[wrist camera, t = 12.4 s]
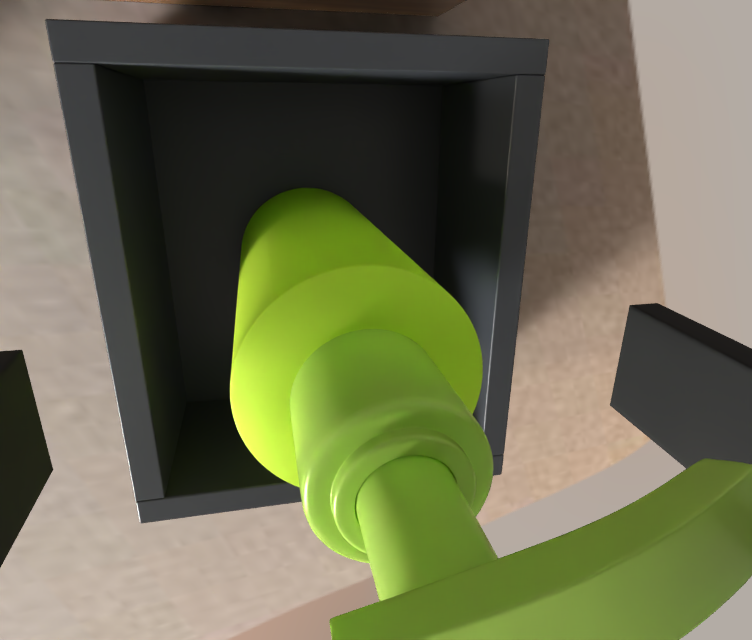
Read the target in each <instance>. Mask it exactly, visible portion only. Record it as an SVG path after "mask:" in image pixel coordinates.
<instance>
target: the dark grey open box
mask: <svg viewBox="0 0 752 640" xmlns="http://www.w3.org/2000/svg"><path fill="white" fill-rule="evenodd" d="M45 23H46V28H47V33H48V39H49V44H50V49H51V55H52V60H53V62H55V63H54V64H53V65H54V71H55V76H56V81H57V87H58V92H59V97H60V103H61V108H62V113H63V119H64V124H65V129H66V134H67V140H68V145H69V150H70V156H71V161H72V166H73V172H74V177H75V182H76V188H77V193H78V198H79V204H80V209H81V214H82V220H83V225H84V230H85V236H86V241H87V246H88V252H89V257H90V262H91V268H92V273H93V278H94V283H95V289H96V294H97V299H98V305H99V310H100V315H101V321H102V326H103V331H104V337H105V342H106V347H107V353H108V358H109V363H110V369H111V374H112V379H113V385H114V390H115V395H116V401H117V406H118V411H119V416H120V422H121V427H122V432H123V438H124V443H125V448H126V454H127V459H128V464H129V470H130V475H131V480H132V486H133V491H134V496H135V501H136V505H137V511H138V516H139V521H140V523H148V522H155V521H162V520H170V519H177V518H185V517H192V516H199V515H207V514H214V513H221V512H229V511H236V510H243V509H251V508H258V507H265V506H273V505H280V504H288V503H295V502H302V500H301V494H300V487H297V486H295V485H292V484H290V483H288V482H286V481H284V480H282V479H281V478H279V477H277V476H276V475H274V474H273V473H272V472H270V471H269V470H268V469H266V468H265V467H264V466H263V465H262V464H261V463H260V462H259V461H258V460H257V459H256V458H255V457H254V456H253V454H252V453H251V452H250V451H249V449H248V448H247V446H246V445H245V443H244V441H243V440H242V438H241V436H240V434H239V432H238V429H237V427H236V424H235V421H234V418H233V414H232V409H231V402H230V378H231V366H232V354H233V342H234V330H235V318H236V306H237V294H238V282H239V269H240V257H241V246H242V239H243V235H244V232H245V229H246V227H247V225H248V223H249V221H250V219H251V218H252V216H253V215H254V213H255V212H256V211H257V210H258V209H259V208H260V207H261V206H262V205H263V204H264V203H265V202H267V201H268V200H269V199H271V198H272V197H274V196H276V195H278V194H280V193H282V192H285V191H288V190H292V189H298V188H316V189H322V190H326V191H329V192H332V193H334V194H336V195H338V196H340V197H342V198H343V199H345V200H346V201H347V202H349V203H350V204H351V205H352V206H353V207H354V208H356V209H357V210H358V211H359V212H360V213H361V214H362V215H363V216H364V217H365V218H367V219H368V220H369V221H370V222H371V223H372V224H373V225H374V226H375V227H376V228H378V229H379V230H380V231H381V232H382V233H383V234H384V235H385V236H386V237H387V238H389V239H390V240H391V241H392V242H393V243H394V244H395V245H396V246H397V247H398V248H400V249H401V250H402V251H403V252H404V253H405V254H406V255H407V256H408V257H410V258H411V259H412V260H413V261H414V262H415V263H416V264H417V265H418V266H419V267H421V268H422V269H423V270H424V271H425V272H426V273H427V274H428V275H429V276H430V277H432V278H433V279H434V280H435V281H436V282H437V283H438V284H439V285H440V286H441V287H443V288H444V289H445V290H446V291H447V292H448V293H449V294H450V295H451V296H452V297H453V298H454V299H455V300H456V301H457V302H458V303H459V304H460V306H461V307H462V308H463V310H464V311H465V312H466V314H467V315H468V317H469V319H470V321H471V322H472V324H473V327H474V329H475V331H476V334H477V337H478V340H479V343H480V348H481V353H482V363H483V374H482V384H481V390H480V394H479V398H478V401H477V405H476V407H475V410H474V412H473V416H474V418H475V419H476V420H477V422H478V423H479V425H480V426H481V428H482V429H483V431H484V433H485V435H486V437H487V439H488V442H489V445H490V448H491V451H492V456H493V476H494V475H500V474H501V473H502V465H503V454H504V447H505V438H506V429H507V419H508V410H509V401H510V392H511V383H512V374H513V365H514V355H515V346H516V337H517V328H518V319H519V310H520V300H521V291H522V282H523V273H524V264H525V255H526V246H527V236H528V227H529V218H530V209H531V200H532V191H533V181H534V172H535V163H536V154H537V145H538V136H539V126H540V117H541V108H542V99H543V90H544V81H545V76H544V75H545V73H546V65H547V56H548V47H549V40H548V39H533V38H508V37H483V36H458V35H433V34H408V33H383V32H358V31H333V30H308V29H283V28H258V27H233V26H208V25H183V24H158V23H133V22H108V21H83V20H58V19H46V20H45Z"/></svg>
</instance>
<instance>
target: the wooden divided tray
mask: <svg viewBox="0 0 752 640" xmlns="http://www.w3.org/2000/svg"><path fill="white" fill-rule="evenodd" d="M106 1H127V2H148V3H169V4H191V5H212V6H233V7H254V8H275V9H296V10H318V11H339V12H360V13H381V14H402V15H424V16H439V15H441V14H442V13H444V12H446V11H448V10H450V9H452V8H454V7H455V6H457V5H459V4H461V3H463V2H465V1H467V0H106Z"/></svg>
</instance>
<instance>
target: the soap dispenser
mask: <svg viewBox="0 0 752 640" xmlns="http://www.w3.org/2000/svg"><path fill="white" fill-rule="evenodd" d="M482 374H483V363H482V353H481V348H480V343H479V340H478V337H477V334H476V331H475V329H474V327H473V324H472V322H471V321H470V319H469V317H468V315H467V314H466V312H465V311H464V310H463V308H462V307H461V306H460V304H459V303H458V302H457V301H456V300H455V299H454V298H453V297H452V296H451V295H450V294H449V293H448V292H447V291H446V290H445V289H444V288H443V287H441V286H440V285H439V284H438V283H437V282H436V281H435V280H434V279H433V278H432V277H430V276H429V275H428V274H427V273H426V272H425V271H424V270H423V269H422V268H421V267H419V266H418V265H417V264H416V263H415V262H414V261H413V260H412V259H411V258H410V257H408V256H407V255H406V254H405V253H404V252H403V251H402V250H401V249H400V248H398V247H397V246H396V245H395V244H394V243H393V242H392V241H391V240H390V239H389V238H387V237H386V236H385V235H384V234H383V233H382V232H381V231H380V230H379V229H378V228H376V227H375V226H374V225H373V224H372V223H371V222H370V221H369V220H368V219H367V218H365V217H364V216H363V215H362V214H361V213H360V212H359V211H358V210H357V209H356V208H354V207H353V206H352V205H351V204H350V203H349V202H347V201H346V200H345V199H343V198H342V197H340V196H338V195H336V194H334V193H332V192H329V191H326V190H322V189H316V188H298V189H292V190H288V191H285V192H282V193H280V194H278V195H276V196H274V197H272V198H271V199H269V200H268V201H267V202H265V203H264V204H263V205H262V206H261V207H260V208H259V209H258V210H257V211H256V212H255V213H254V215H253V216H252V218H251V219H250V221H249V223H248V225H247V227H246V229H245V232H244V235H243V239H242V246H241V257H240V269H239V282H238V294H237V306H236V318H235V330H234V342H233V354H232V366H231V378H230V402H231V409H232V414H233V418H234V421H235V424H236V427H237V429H238V432H239V434H240V436H241V438H242V440H243V441H244V443H245V445H246V446H247V448H248V449H249V451H250V452H251V453H252V454H253V456H254V457H255V458H256V459H257V460H258V461H259V462H260V463H261V464H262V465H263V466H264V467H265V468H266V469H268V470H269V471H270V472H272V473H273V474H274V475H276V476H277V477H279V478H281V479H282V480H284V481H286V482H288V483H290V484H292V485H295V486H297V487H300V494H301V500H302V505H303V510H304V513H305V516H306V518H307V520H308V523H309V525H310V527H311V528H312V530H313V532H314V533H315V534H316V536H317V537H318V538H319V539H320V540H321V541H322V542H323V543H324V544H325V545H326V546H327V547H329V548H330V549H332V550H333V551H335V552H336V553H338V554H340V555H342V556H344V557H347V558H350V559H353V560H356V561H360V562H365V563H370V566H371V570H372V574H373V578H374V581H375V585H376V589H377V593H378V597H379V602H377V603H374V604H371V605H368V606H365V607H362V608H359V609H356V610H353V611H351V612H348V613H345V614H342V615H339V616H336V617H334V618H331V619H330V629H331V636H332V640H679V639H681V638H682V637H684V636H685V635H686V634H688V633H689V632H690V631H692V630H693V629H694V628H696V627H697V626H698V625H699V624H701V623H702V622H703V621H704V620H706V619H707V618H708V617H709V616H710V615H711V614H713V613H714V612H715V611H716V610H717V609H718V608H720V607H721V606H722V605H723V604H724V603H725V602H726V601H727V600H729V599H730V598H731V597H732V596H733V595H734V594H735V593H736V592H737V591H738V590H739V589H740V588H741V587H742V586H743V585H744V584H745V583H746V582H747V581H748V579H749V578H750V577H751V576H752V464H746V463H741V462H735V461H727V460H716V459H702V460H700V461H698V462H696V463H695V464H693V465H692V466H690V467H689V468H687V469H686V470H684V471H683V472H681V473H680V474H679V475H677V476H675V477H674V478H672V479H671V480H670V481H668V482H667V483H665V484H663V485H662V486H660V487H659V488H657V489H655V490H654V491H652V492H651V493H649V494H647V495H645V496H644V497H642V498H640V499H639V500H637V501H635V502H633V503H631V504H629V505H627V506H626V507H624V508H622V509H620V510H618V511H616V512H614V513H612V514H610V515H608V516H605V517H603V518H601V519H599V520H597V521H594V522H592V523H590V524H588V525H585V526H583V527H581V528H578V529H576V530H574V531H571V532H569V533H566V534H564V535H561V536H559V537H556V538H553V539H551V540H548V541H546V542H543V543H540V544H537V545H535V546H532V547H529V548H526V549H524V550H521V551H518V552H515V553H513V554H510V555H507V556H504V557H502V558H499V559H498V557H497V555H496V553H495V551H494V550H493V548H492V546H491V544H490V542H489V541H488V539H487V537H486V535H485V533H484V532H483V530H482V528H481V526H480V524H479V523H478V521H477V519H476V516H477V514H478V513H479V511H480V510H481V508H482V506H483V504H484V502H485V500H486V498H487V496H488V493H489V490H490V487H491V483H492V478H493V456H492V451H491V448H490V445H489V442H488V439H487V437H486V435H485V433H484V431H483V429H482V428H481V426H480V425H479V423H478V422H477V420H476V419H475V418H474V416H473V412H474V410H475V407H476V405H477V401H478V398H479V394H480V390H481V384H482Z"/></svg>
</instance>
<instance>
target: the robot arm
mask: <svg viewBox="0 0 752 640" xmlns="http://www.w3.org/2000/svg"><path fill="white" fill-rule="evenodd" d="M610 406H612V407H613V408H614V409H615V410H616V411H618V412H619V413H620V414H621V415H622V416H624V417H625V418H626V419H627V420H628V421H630V422H631V423H632V424H633V425H635V426H636V427H637V428H638V429H639V430H641V431H642V432H643V433H644V434H645V435H647V436H648V437H649V438H650V439H651V440H653V441H654V442H655V443H656V444H657V445H659V446H660V447H661V448H662V449H664V450H665V451H666V452H667V453H668V454H670V455H671V456H672V457H673V458H674V459H676V460H677V461H678V462H679V463H680V464H682V465H683V466H684V467H685V468H686V469H687V468H689V467H690V466H692V465H693V464H695V463H696V462H698V461H700V460H702V459H716V460H727V461H735V462H741V463H746V464H752V349H751V348H749V347H747V346H745V345H743V344H741V343H739V342H737V341H735V340H733V339H731V338H728V337H726V336H724V335H722V334H720V333H718V332H716V331H714V330H712V329H710V328H708V327H706V326H704V325H702V324H699V323H697V322H695V321H693V320H691V319H689V318H687V317H685V316H683V315H681V314H678V313H676V312H674V311H672V310H670V309H668V308H666V307H664V306H662V305H660V304H658V303H654V304H641V305H630V307H629V312H628V317H627V322H626V327H625V332H624V337H623V342H622V347H621V352H620V357H619V362H618V367H617V373H616V378H615V383H614V388H613V393H612V398H611V403H610ZM52 471H53V468H52V464H51V460H50V456H49V452H48V448H47V444H46V440H45V437H44V433H43V429H42V425H41V421H40V417H39V413H38V409H37V406H36V402H35V398H34V394H33V390H32V386H31V382H30V378H29V375H28V371H27V367H26V363H25V359H24V355H23V351H22V350H14V351H1V352H0V567H1V565H2V564H3V562H4V560H5V558H6V556H7V554H8V552H9V551H10V549H11V547H12V545H13V543H14V541H15V539H16V538H17V536H18V534H19V532H20V530H21V528H22V526H23V525H24V523H25V521H26V519H27V517H28V515H29V513H30V512H31V510H32V508H33V506H34V504H35V502H36V500H37V499H38V497H39V495H40V493H41V491H42V489H43V487H44V486H45V484H46V482H47V480H48V478H49V476H50V474H51V473H52Z"/></svg>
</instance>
